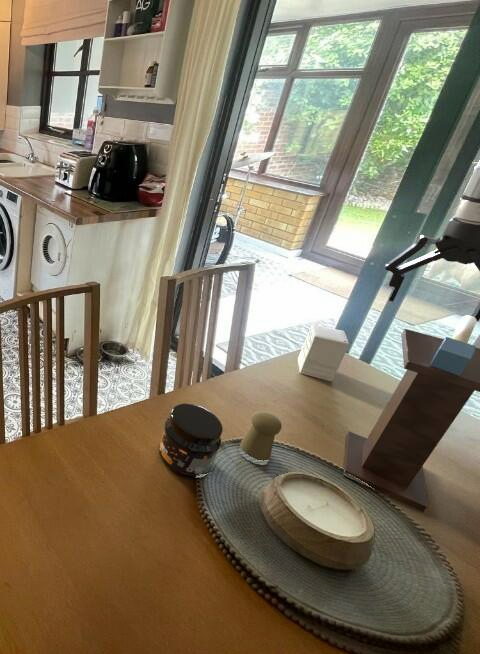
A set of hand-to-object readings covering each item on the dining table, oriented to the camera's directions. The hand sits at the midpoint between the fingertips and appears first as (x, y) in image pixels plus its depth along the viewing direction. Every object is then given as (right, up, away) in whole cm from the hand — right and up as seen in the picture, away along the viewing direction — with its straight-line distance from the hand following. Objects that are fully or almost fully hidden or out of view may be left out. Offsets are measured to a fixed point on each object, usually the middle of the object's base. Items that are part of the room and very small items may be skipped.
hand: (430, 308), depth 95 cm
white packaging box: (-10, -20, +21) cm, 30 cm away
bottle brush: (-17, -5, -19) cm, 26 cm away
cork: (-45, -32, -5) cm, 55 cm away
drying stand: (-21, -34, -9) cm, 40 cm away
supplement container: (-61, -33, -6) cm, 70 cm away
